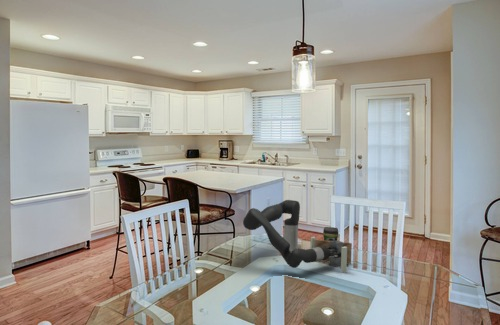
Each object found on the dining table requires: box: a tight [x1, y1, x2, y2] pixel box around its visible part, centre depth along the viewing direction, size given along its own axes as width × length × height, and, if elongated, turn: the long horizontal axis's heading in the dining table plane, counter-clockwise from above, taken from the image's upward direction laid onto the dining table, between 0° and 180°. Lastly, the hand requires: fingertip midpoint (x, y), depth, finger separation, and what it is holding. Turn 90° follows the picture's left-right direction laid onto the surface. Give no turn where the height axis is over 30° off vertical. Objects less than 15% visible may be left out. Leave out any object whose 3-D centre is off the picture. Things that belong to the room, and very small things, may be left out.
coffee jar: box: [322, 226, 339, 241], centre depth 210 cm, size 10×8×19 cm
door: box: [315, 239, 352, 265], centre depth 198 cm, size 21×1×12 cm, turn 74°
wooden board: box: [309, 236, 348, 274], centre depth 192 cm, size 25×3×14 cm, turn 34°
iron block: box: [328, 239, 344, 268], centre depth 193 cm, size 5×5×14 cm
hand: (339, 250), depth 193 cm, fingers open, 8 cm apart
